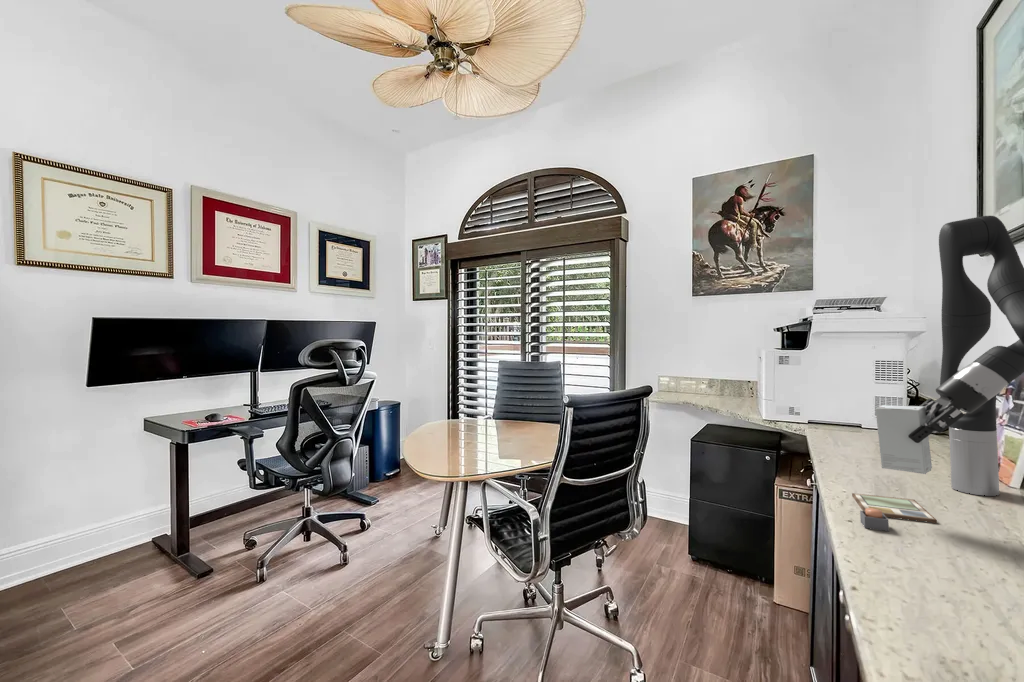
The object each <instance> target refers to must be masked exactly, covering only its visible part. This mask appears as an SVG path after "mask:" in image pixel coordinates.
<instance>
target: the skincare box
mask: <svg viewBox="0 0 1024 682" xmlns="http://www.w3.org/2000/svg"><path fill="white" fill-rule="evenodd" d="M875 416H876V417H875V418H876V425H877V436H878V445H879V454H880V464H881V469H884V470H885V469H886V470H892V471H901V472H908V473H915V474H923V475H926V474H928V473H929V472H931V471H932V470H933V466H932V456H931V447H930V439H929V436H927V437H926V438H925V439H923V440H922V441H921V442H919V443H916V442H914V441H913V440H911V439H910V438H909V437H908V435H909V434H910V433H912V432H913V431H914V430H916V429H917V428H918V427H920V426H921V425H922V426H924V425H923V423H924V422H925V421H926V420H927V419H926V411H925V406H920V405H919V406H918V405H890V404H889V405H887V404H886V405H885V404H882V405H880V406H877V407H876V408H875Z"/></svg>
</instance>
